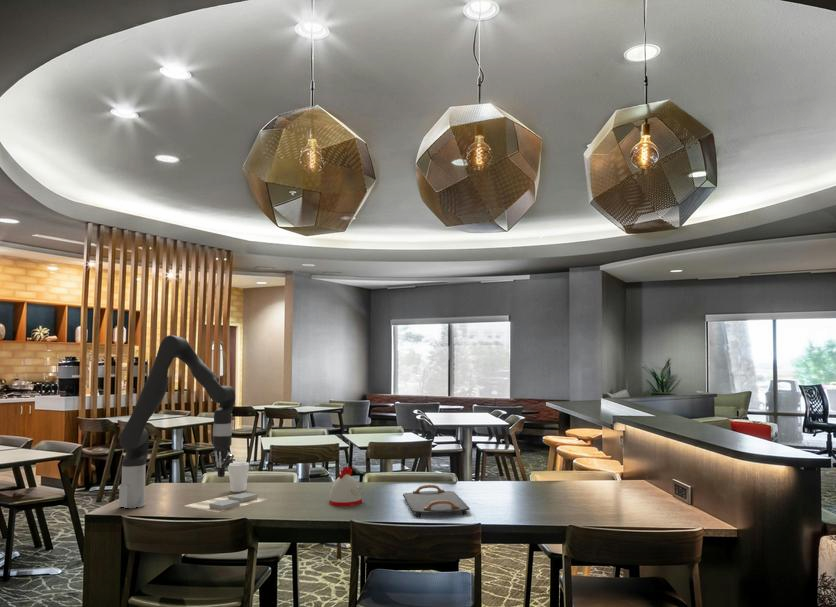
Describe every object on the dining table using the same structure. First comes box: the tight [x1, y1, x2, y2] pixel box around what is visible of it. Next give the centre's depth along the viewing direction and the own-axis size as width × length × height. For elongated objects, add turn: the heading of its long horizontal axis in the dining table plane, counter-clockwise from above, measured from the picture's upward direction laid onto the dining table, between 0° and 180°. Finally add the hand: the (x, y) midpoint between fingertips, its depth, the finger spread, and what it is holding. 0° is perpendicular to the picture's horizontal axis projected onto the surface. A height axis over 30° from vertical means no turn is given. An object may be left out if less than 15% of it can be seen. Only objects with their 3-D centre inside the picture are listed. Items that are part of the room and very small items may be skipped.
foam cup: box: [227, 461, 250, 493], centre depth 297 cm, size 10×9×13 cm
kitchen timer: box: [328, 466, 363, 507], centre depth 273 cm, size 14×14×15 cm
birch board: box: [184, 493, 269, 513], centre depth 271 cm, size 27×22×1 cm
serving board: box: [402, 484, 471, 518], centre depth 262 cm, size 39×23×6 cm, turn 8°
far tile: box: [227, 492, 258, 503], centre depth 275 cm, size 9×2×8 cm
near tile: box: [209, 499, 240, 511], centre depth 262 cm, size 9×2×8 cm
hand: (221, 476), depth 264 cm, fingers closed
